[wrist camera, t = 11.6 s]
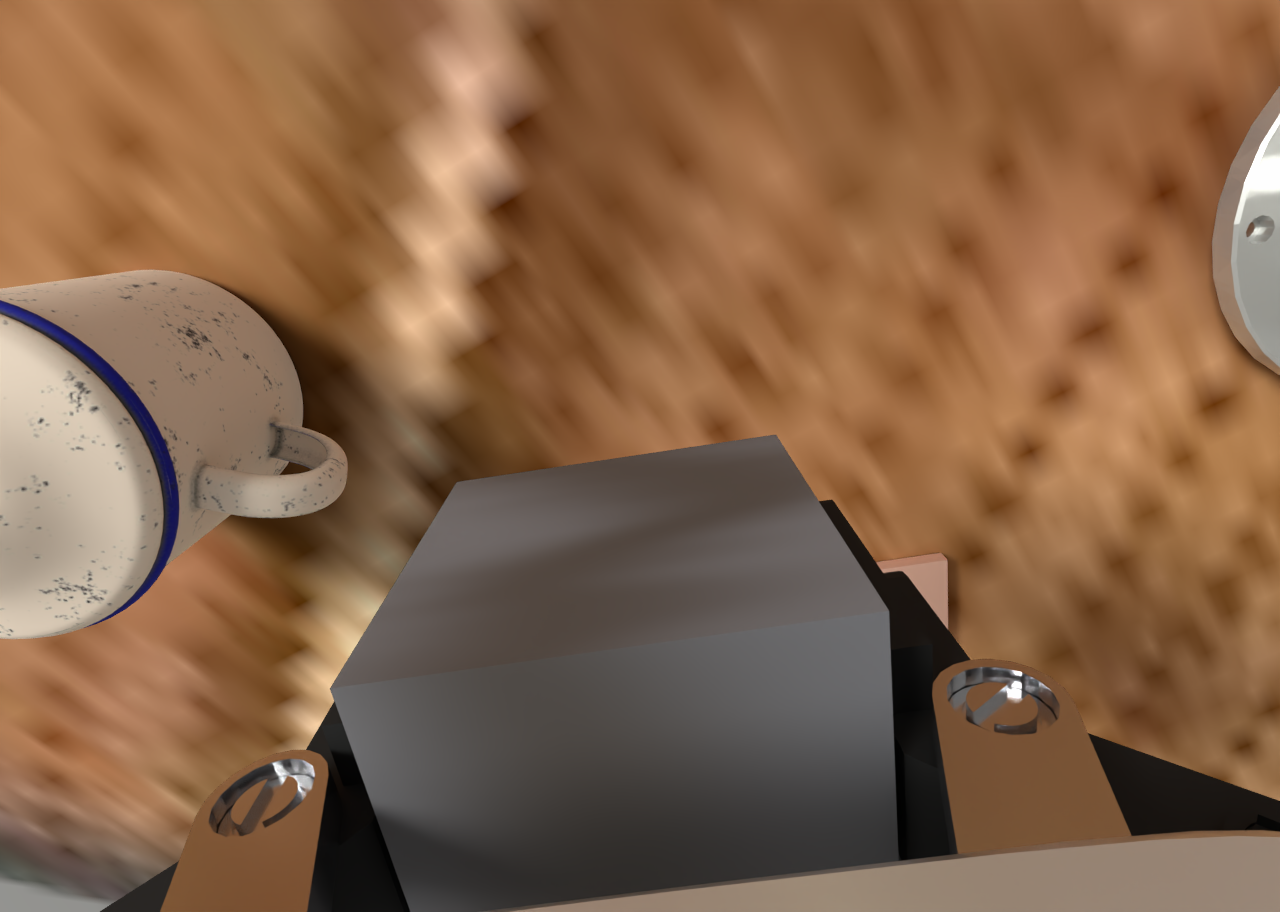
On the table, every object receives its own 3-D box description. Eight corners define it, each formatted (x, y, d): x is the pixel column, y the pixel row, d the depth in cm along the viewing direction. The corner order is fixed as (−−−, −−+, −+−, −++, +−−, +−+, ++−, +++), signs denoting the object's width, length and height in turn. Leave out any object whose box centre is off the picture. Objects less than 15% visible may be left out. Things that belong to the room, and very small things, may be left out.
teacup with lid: (59, 481, 27) (-338, 676, 16) (46, 233, 24) (-454, 259, 13) (382, 541, 28) (222, 763, 17) (408, 311, 25) (235, 396, 14)
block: (776, 434, 11) (889, 610, 6) (800, 700, 13) (904, 998, 8) (456, 481, 11) (330, 688, 6) (522, 738, 13) (461, 1051, 8)
